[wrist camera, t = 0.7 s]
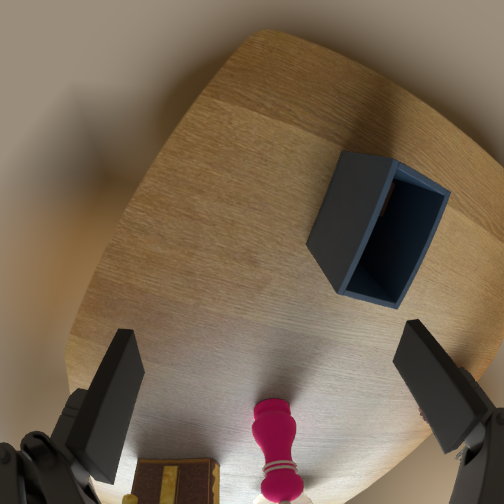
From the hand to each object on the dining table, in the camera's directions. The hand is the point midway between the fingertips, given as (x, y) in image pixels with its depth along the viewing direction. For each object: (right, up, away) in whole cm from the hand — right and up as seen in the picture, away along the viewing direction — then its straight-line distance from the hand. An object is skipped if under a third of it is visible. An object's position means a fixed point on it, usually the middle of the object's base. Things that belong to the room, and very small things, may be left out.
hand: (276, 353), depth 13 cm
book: (-19, -45, +40) cm, 64 cm away
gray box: (+10, +10, +21) cm, 25 cm away
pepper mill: (+2, -22, +33) cm, 40 cm away
